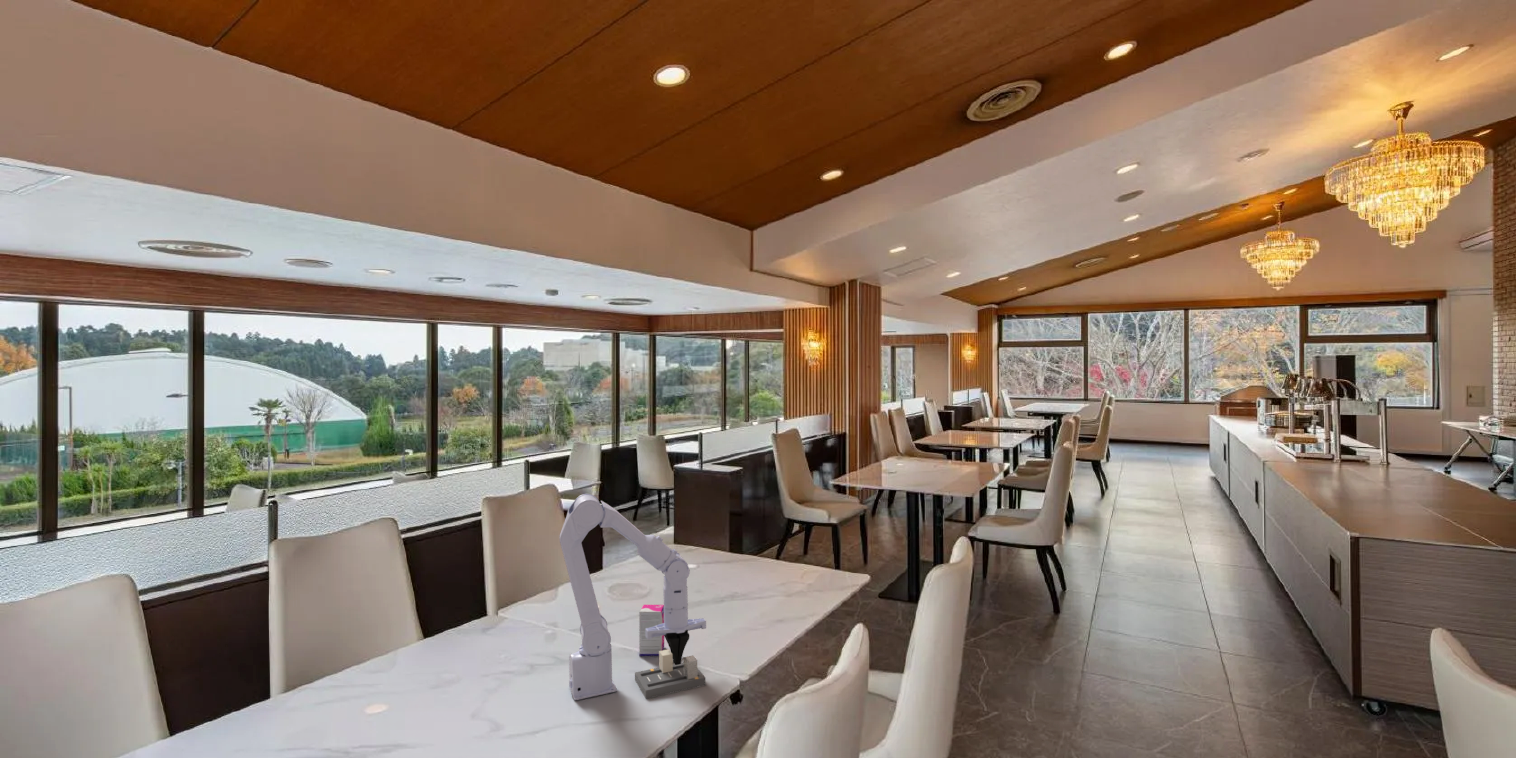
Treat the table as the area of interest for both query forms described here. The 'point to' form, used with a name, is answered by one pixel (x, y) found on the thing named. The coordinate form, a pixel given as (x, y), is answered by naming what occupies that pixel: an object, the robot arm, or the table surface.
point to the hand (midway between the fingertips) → (676, 663)
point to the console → (666, 681)
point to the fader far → (665, 661)
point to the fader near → (690, 667)
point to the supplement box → (647, 619)
